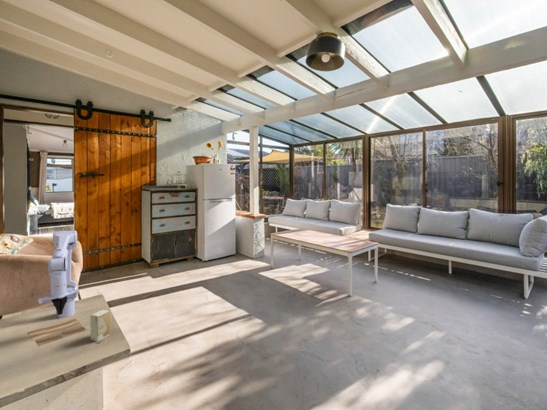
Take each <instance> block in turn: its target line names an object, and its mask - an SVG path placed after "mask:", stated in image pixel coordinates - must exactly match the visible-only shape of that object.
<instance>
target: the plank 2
mask: <svg viewBox="0 0 547 410" xmlns="http://www.w3.org/2000/svg"><path fill="white" fill-rule="evenodd" d="M84 331H87V329H86V328H85V327H84V326H83V325H79V326H75V327H72V328H69V329H66V330H63V331H60V332H59V333H60V334H61V335H62V336H63V337H64V338H67V337H70V336H72V335H76V334H79V333H82V332H84Z"/></svg>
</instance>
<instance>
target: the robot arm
mask: <svg viewBox="0 0 547 410" xmlns="http://www.w3.org/2000/svg"><path fill="white" fill-rule="evenodd" d="M52 242H53V245H54V247H55V249H53V253H52V256H51V259H50V260H48V265H47V268H48V269H47V270H48V275H49V278H50V294H48V295H45V296H42V297H39V298H38V299H37V301H38V304H39V305H40V304H43V303H46V302H50V301H51V303H52V304H53V306H54V308H55V314H56V315H57V318H59V319H60V318H61V319H65V318H70V317H72V316H74V315H75V314H76V307H75V306H76V304H75V303H76V301H75V299H76V298H77V297H78V295H79V294H80V293H79V289H78V288H79V287H78V283H77V281H74V280H72V253H73V249H74V248H76V247H77V245H78V232H77V230H62V231H54V232H53V233H52Z"/></svg>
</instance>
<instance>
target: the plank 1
mask: <svg viewBox="0 0 547 410" xmlns="http://www.w3.org/2000/svg"><path fill="white" fill-rule="evenodd" d="M64 338H65V337H64V336H63V335H62V334H61V333H60V332H57V333H54V334H50V335H47V336H44V337H41V338H38V339H35V340H34V342H36V344H37V345H38V347H41V346H44V345H46V344H50V343H52V342H55V341H58V340H61V339H64Z"/></svg>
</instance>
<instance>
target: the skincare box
mask: <svg viewBox="0 0 547 410" xmlns="http://www.w3.org/2000/svg"><path fill="white" fill-rule="evenodd" d="M110 312H111V311H110V310H106V309H100V310H99V311H96V312H94V313H91V314H90V340H91V341H94V342H96V344H100V343H102V342H103V341H105V340H106V339H105V338H107V337H108V336H110V335H111V334H110V333H111V332H110V325H111V324H110V322H111V321H110V316H111V315H110Z"/></svg>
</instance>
